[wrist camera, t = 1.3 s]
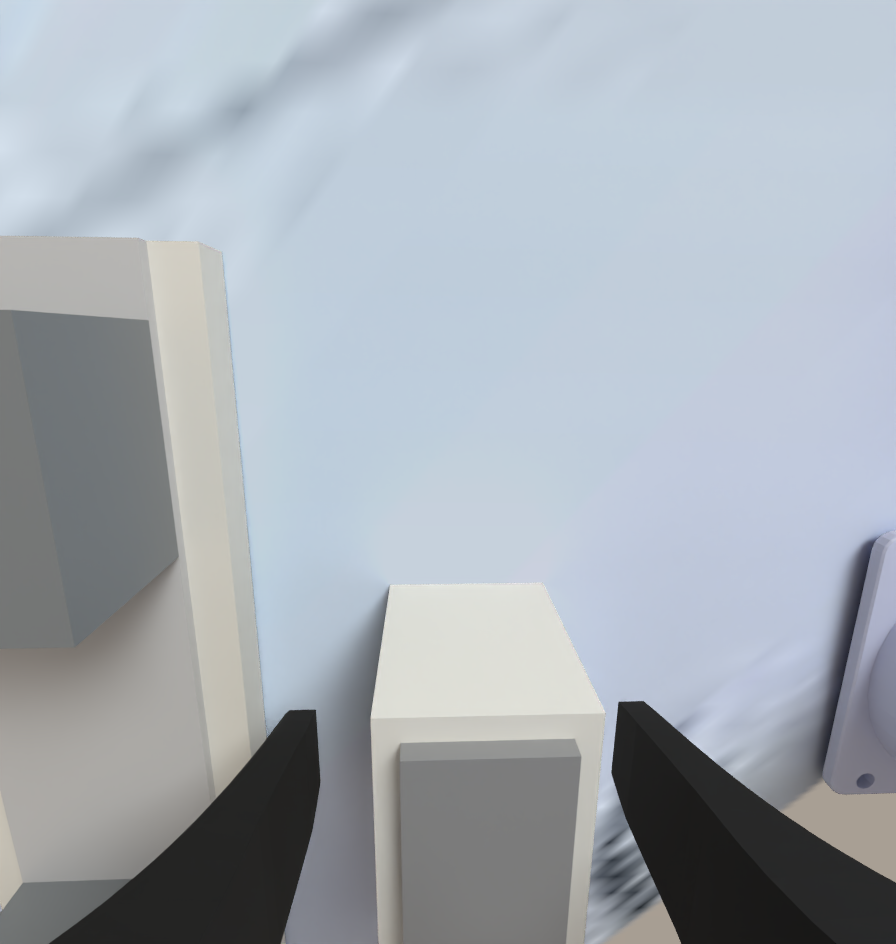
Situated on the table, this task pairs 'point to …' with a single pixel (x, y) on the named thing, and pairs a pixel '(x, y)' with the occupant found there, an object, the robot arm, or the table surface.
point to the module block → (482, 768)
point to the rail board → (116, 568)
